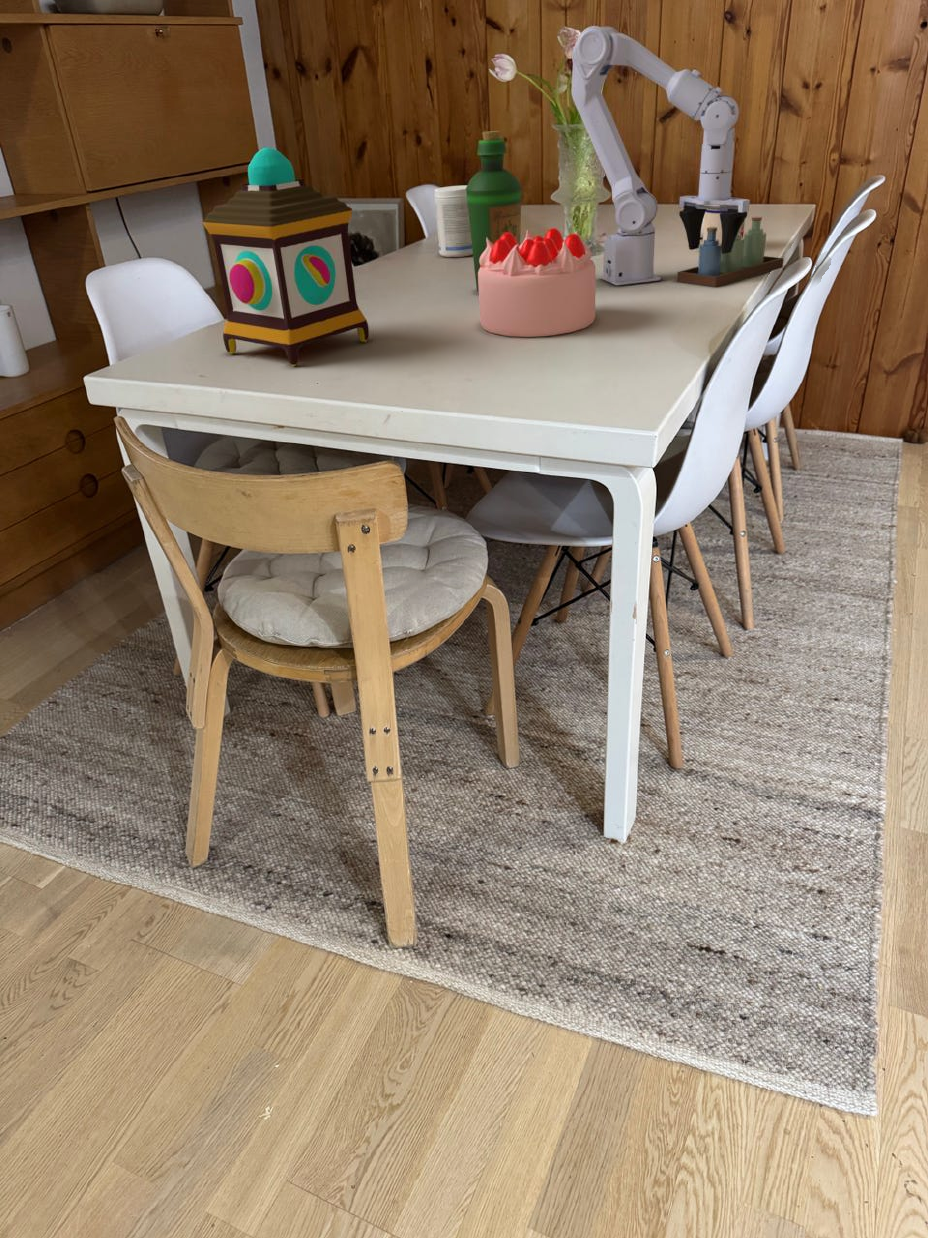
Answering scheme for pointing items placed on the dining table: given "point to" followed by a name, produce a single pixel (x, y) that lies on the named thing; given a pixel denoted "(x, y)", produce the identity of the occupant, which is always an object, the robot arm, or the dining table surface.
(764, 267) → the tray
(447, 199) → the supplement tub
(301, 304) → the decorative lantern
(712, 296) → the dining table surface
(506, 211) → the bottle
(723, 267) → the green bottle mid
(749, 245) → the green bottle far
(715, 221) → the cream enamel lidded pot
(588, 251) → the cake
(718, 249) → the blue bottle
